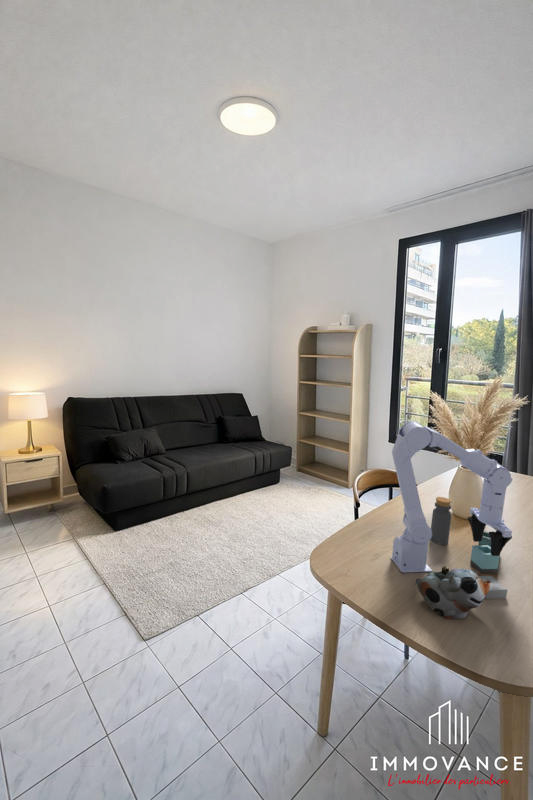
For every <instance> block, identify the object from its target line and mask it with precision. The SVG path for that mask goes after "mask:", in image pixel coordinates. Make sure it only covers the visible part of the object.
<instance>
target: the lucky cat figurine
mask: <svg viewBox="0 0 533 800" xmlns="http://www.w3.org/2000/svg"><path fill="white" fill-rule="evenodd" d="M490 583H491V581H489V580H483V579H481V578H480V577H479V576H478V575H477V574H476V573H474V572H473V571H471V570H469V568H457V567H456V568H453V569H449V567H448V566H447V565H443V566H442V567H441V571H432V572H427V574H426V575H425V576H423V578H416V580H415V585H416V588H417V590H418V592H419V593H420V595H421V596H422V598H423V600H424V602H425V603H426V605H428V606H429V608H431V610H432V611H433V612H435V613H439V614H440V616H441V618H444V619H454V620H455V619H459V620H460V619H464V618H466V617H467V615H468V613H469V611H470V610H472V609H476V608H477V607H480V606H481V605H482V604H483V602H484V601H483V600H484V599H485V595H486V594H487V593H488V592H489V589H490Z"/></svg>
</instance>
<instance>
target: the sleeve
mask: <svg viewBox="0 0 533 800" xmlns="http://www.w3.org/2000/svg"><path fill="white" fill-rule="evenodd" d="M470 555H471V556H470V564H471V565H472V566H473V567H474V568H475V569H476V570H478V571H479V572H480V573H481V574H497V575H498V570H499V565H500V564H499V563H500V559H501V554H500V555H499V556H492V555H491V547H490V546H488V545H478V544H476V545H472V548H471V554H470ZM499 558H500V559H499ZM470 564H469V565H470Z"/></svg>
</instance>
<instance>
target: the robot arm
mask: <svg viewBox="0 0 533 800" xmlns="http://www.w3.org/2000/svg"><path fill="white" fill-rule="evenodd" d="M427 446H428V447H429V448H435V447H439V448H440V449H443V450H444V451H445V452H448V453H449V454H451V455H453V456H454V457H456V458H458V459H459V461H460V465H461V466H463V467H464V468H466V469H467V470H469V471H471V472H472V473H475V474H476V475H477V476H479V477H481V478H483V484H482V488H481V489H482V490H481V497H480V503H479V508H477V507H470V510H469V514H470V516H467V521H468V523H469V525H470V528H471V533H472V540H473V542H474V543H477V542H478V543H479V542H481V540H482V537H483V532H484V531H485V529H486V526H489V527H491V528H492V529H494V530H495V531H488V532H489V535H490V538H491V555H492V556H499V555H500V556H501V552H502V551H503V549H504V547H505V546H506V545H507V543H508V542H509V541H511V540H512V539H513V535H512V534H513V530H511V529H510V528H509V527H508V526H507V525H506V524H505V523H504V522H505V519H504V518H503V513H504V507H505V506H504V505H505V499H506V494H507V493H506V492H507V487H508V486H510V485H511V484H512V482H513V478H512V476H511V472H510V471H509V470H508V469H507V468H506V467H504V466H503V465H501V464H500V463H499V462H498V460H495V459H494V458H492V459H491V458H490V457H488V456H486V455H484V454H483V451H481V449H478V448H476V449H474V448H468V449H465V448H464V447H462V446H461V445H459V444H457V443H456V442H455V441H453V440H451V439H450V438H448V437H446V436H445V435H443V434H442V433H441V432H438V431H437V430H436V429H432V428H431V427H429V426H426V425H424V424H423V425H422V424H421V423H419V422H418V421H415V420H409V421H407V422H405V423H404V424H403V425H401V427H400V428H399V429H398V430H397V436H396V439H395V442H394V445H393V447H392V450H391V455H392V459H393V463H394V468H395V473H396V477H397V481H398V485H399V488H400V490H399V491H400V494H401V497H402V498H401V499H402V503H403V518H402V521H403V522H402V523H403V524H404V526H405V529H404V531H403V533H402V535H400V536H396V537H394V539H393V542H392V555H391V556H390V558H391V560H392V562H393V563H394V564H395V565H396V566H397V568H398V569H399V571H400V572H401V573H404V574H405V573H430V572H433V570H432V569H431V567H430V566H428V564H427V559H428V551H429V550H428V549H429V541H431V537H432V530H431V526H429V525H428V523H427V520H426V516H425V514H424V512H423V507H422V503H421V500H420V494H419V490H418V485H417V481H416V477H415V473H414V468H413V464H412V458H413V456H414V455H415V454H416V453H418V452H420V451H421V450H423V449H425V448H427Z"/></svg>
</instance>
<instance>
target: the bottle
mask: <svg viewBox="0 0 533 800" xmlns="http://www.w3.org/2000/svg"><path fill="white" fill-rule="evenodd" d="M435 500H436V501H435V503H434V508H433V510H432V515H431V516H432V517H431V524H430V528H431V530H432V537H431V539H430V541H432V542H433V543H435V544H437V545H448V544H449V540H450V539H449V537H450V530H451V521H452V512H451V511H450V510H452V505H451V503H452V500H451V499H449V498H448V497H443V496H436V497H435Z"/></svg>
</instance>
